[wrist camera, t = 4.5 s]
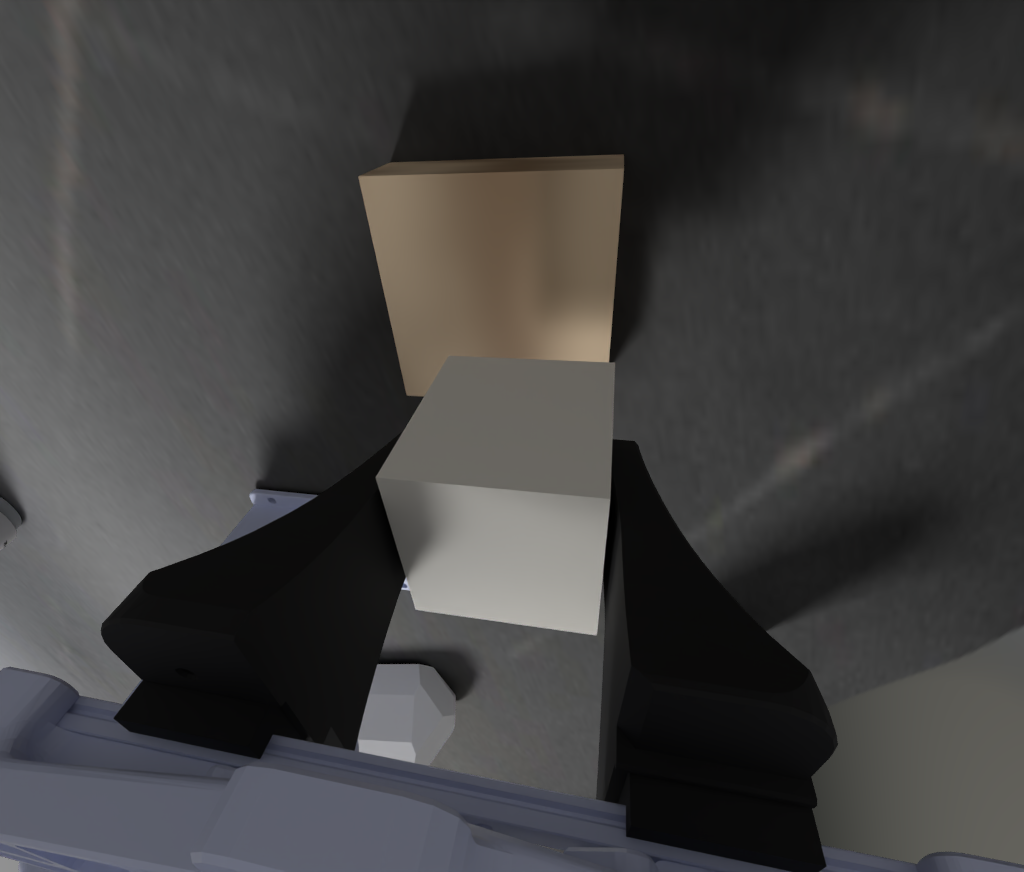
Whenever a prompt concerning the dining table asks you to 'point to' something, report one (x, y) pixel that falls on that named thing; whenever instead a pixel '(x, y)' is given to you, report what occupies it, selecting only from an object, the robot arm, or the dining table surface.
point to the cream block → (506, 491)
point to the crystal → (407, 713)
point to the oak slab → (496, 258)
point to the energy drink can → (8, 523)
